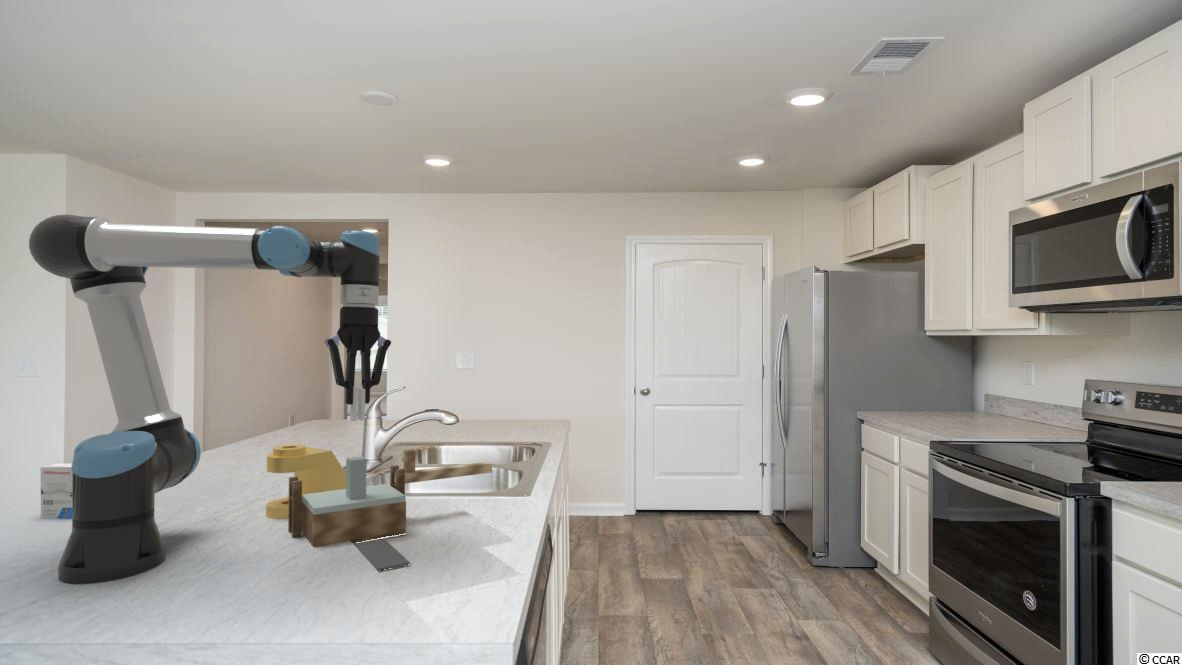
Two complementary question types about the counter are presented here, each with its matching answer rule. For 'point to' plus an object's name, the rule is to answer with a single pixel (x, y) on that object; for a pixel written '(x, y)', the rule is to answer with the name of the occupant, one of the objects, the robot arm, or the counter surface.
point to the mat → (382, 555)
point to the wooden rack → (347, 517)
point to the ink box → (56, 491)
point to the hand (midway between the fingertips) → (357, 419)
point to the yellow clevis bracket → (304, 473)
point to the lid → (353, 492)
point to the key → (440, 470)
